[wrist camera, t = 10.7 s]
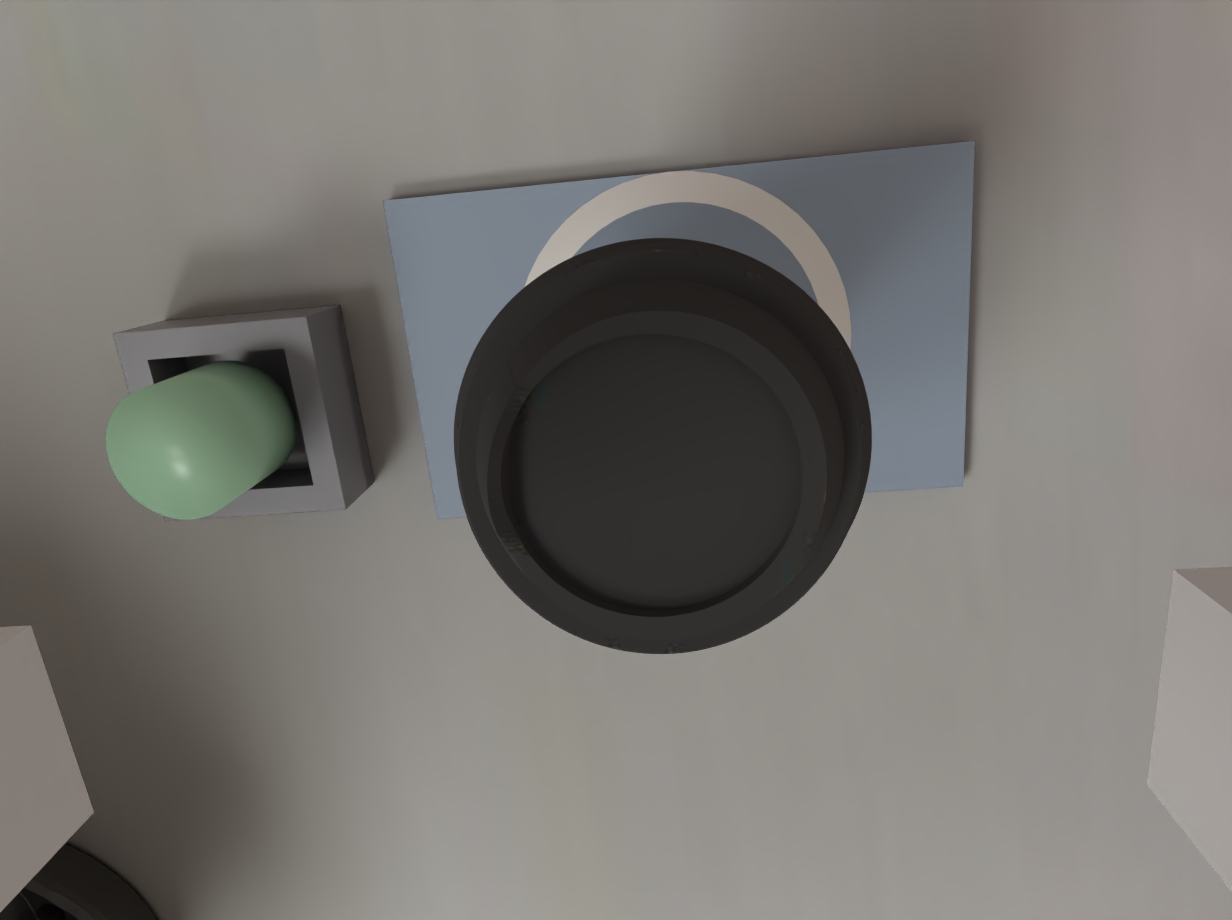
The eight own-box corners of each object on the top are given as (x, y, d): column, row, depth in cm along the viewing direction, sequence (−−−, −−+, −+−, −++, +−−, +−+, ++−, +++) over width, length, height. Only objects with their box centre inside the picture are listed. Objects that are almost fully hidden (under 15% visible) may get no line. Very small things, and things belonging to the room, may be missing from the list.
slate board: (441, 513, 33) (436, 519, 33) (388, 200, 30) (382, 200, 29) (958, 480, 31) (964, 487, 31) (968, 141, 28) (975, 140, 27)
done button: (194, 482, 31) (126, 523, 27) (164, 365, 30) (88, 391, 26) (308, 474, 30) (255, 515, 27) (282, 355, 29) (223, 380, 25)
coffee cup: (811, 228, 28) (946, 268, 14) (775, 478, 31) (858, 722, 17) (547, 207, 29) (420, 225, 15) (535, 456, 32) (420, 676, 17)
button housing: (207, 493, 34) (164, 521, 31) (163, 320, 32) (112, 333, 29) (374, 481, 33) (345, 509, 30) (340, 304, 31) (306, 316, 28)
